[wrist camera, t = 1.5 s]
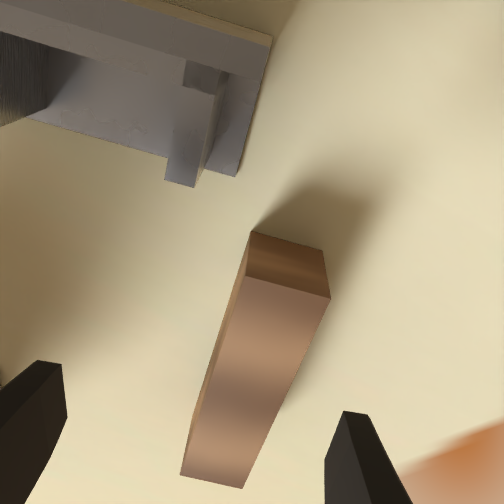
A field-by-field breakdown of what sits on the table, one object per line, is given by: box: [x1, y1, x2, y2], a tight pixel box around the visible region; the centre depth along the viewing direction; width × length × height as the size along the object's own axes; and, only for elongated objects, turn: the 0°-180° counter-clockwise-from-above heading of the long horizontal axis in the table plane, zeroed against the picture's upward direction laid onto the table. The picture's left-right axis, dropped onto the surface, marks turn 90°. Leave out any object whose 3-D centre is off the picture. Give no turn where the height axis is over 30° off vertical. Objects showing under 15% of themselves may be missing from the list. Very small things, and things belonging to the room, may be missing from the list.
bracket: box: [0, 0, 273, 188], centre depth 13 cm, size 5×10×6 cm, turn 74°
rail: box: [180, 231, 331, 489], centre depth 21 cm, size 13×3×4 cm, turn 164°
